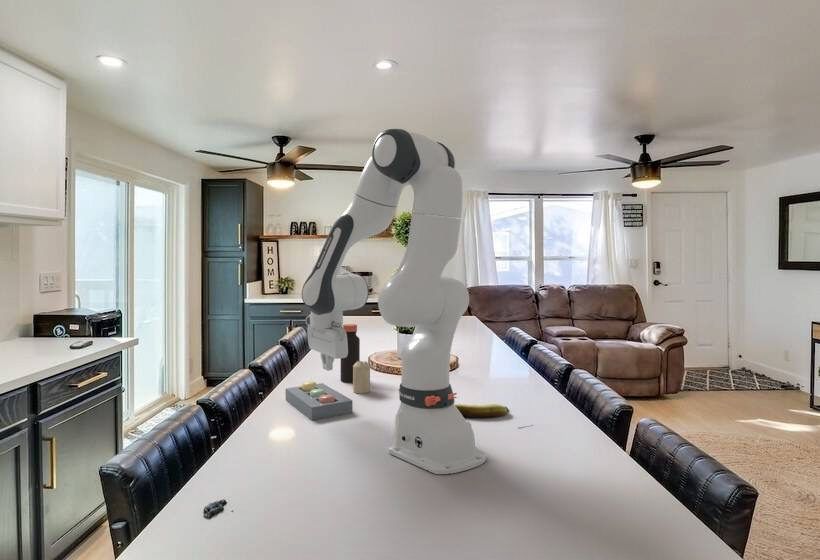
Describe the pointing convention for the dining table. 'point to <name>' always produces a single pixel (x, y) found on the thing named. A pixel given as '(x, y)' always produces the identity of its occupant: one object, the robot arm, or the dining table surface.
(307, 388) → the mustard button
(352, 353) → the bottle
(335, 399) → the button panel
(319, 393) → the sage button
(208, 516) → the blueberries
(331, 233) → the robot arm
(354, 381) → the candle
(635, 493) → the dining table surface
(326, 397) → the brick button
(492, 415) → the green and grey pieces
